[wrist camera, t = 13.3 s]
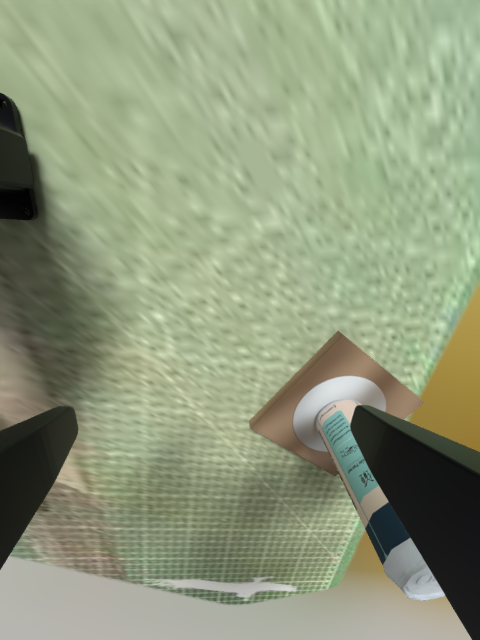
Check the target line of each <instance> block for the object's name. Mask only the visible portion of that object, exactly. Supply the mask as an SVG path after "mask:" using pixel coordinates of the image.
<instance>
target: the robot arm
mask: <svg viewBox="0 0 480 640" xmlns="http://www.w3.org/2000/svg"><path fill="white" fill-rule="evenodd" d="M3 101H5V102H6V104H7V108H6V109H3V108H2V102H3ZM33 185H34V181H33V176H32V171H31V166H30V161H29V156H28V151H27V146H26V141H25V138H24V137H23V136H22V133H21V128H20V123H19V118H18V113H17V108H16V105H15V103H14V102H13V100H12V99H10V98H9V97H8V96H6V95H4V94H2V93H0V218H2V219H17V220H34V219H36V218H37V216H38V211H37V206H36V202H35V197H34V192H33ZM26 208H27V209H28V210H29V212H30V214H29V215H27V214H26V213H25V209H26ZM350 429H351V432H352V435H353V437H354V439H355V441H356V443H357V445H358V447H359V449H360V451H361V453H362V455H363V457H364V460H365V462H366V464H367V466H368V468H369V470H370V471H371V473H372V475H373V477H374V478H375V480H376V482H377V483H378V485H379V487H380V488H381V490H382V492H383V493H384V495H385V497H386V498H387V500H388V502H389V503H390V505H391V506H392V508H393V510H394V511H395V513H396V515H397V516H398V518H399V520H400V521H401V523H402V525H403V526H404V528H405V530H406V531H407V533H408V535H409V536H410V538H411V539H412V541H413V543H414V544H415V546H416V548H417V549H418V551H419V553H420V554H421V556H422V558H423V559H424V561H425V563H426V564H427V566H428V568H429V569H430V571H431V573H432V574H433V576H434V577H435V579H436V581H437V582H438V584H439V586H440V587H441V589H442V591H443V592H444V594H445V596H446V597H447V599H448V601H449V602H450V604H451V605H452V607H453V609H454V610H455V612H456V614H457V615H458V617H459V619H460V620H461V622H462V624H463V625H464V627H465V629H466V630H467V632H468V634H469V635H470V637H471V639H472V640H480V452H478V451H476V450H474V449H471V448H468V447H466V446H464V445H462V444H459V443H457V442H455V441H452V440H450V439H448V438H445V437H443V436H440V435H438V434H436V433H433V432H431V431H429V430H426V429H424V428H421V427H419V426H417V425H415V424H412V423H410V422H407V421H405V420H403V419H400V418H398V417H396V416H393V415H391V414H389V413H386V412H384V411H381V410H379V409H377V408H374V407H372V406H370V405H357V406H356V407H355V410H354V413H353V416H352V420H351V423H350ZM77 434H78V424H77V419H76V414H75V410H74V408H73V407H71V406H59V407H56V408H53V409H51V410H49V411H46V412H44V413H42V414H39V415H37V416H34V417H32V418H30V419H27V420H25V421H23V422H20V423H18V424H16V425H13V426H11V427H9V428H6V429H4V430H2V431H0V570H1V568H2V566H3V564H4V563H5V561H6V560H7V558H8V557H9V555H10V553H11V552H12V550H13V548H14V547H15V545H16V544H17V542H18V540H19V539H20V537H21V536H22V534H23V532H24V531H25V529H26V527H27V526H28V524H29V523H30V521H31V519H32V518H33V516H34V515H35V513H36V511H37V510H38V508H39V506H40V505H41V503H42V502H43V500H44V498H45V497H46V495H47V494H48V492H49V490H50V489H51V487H52V485H53V484H54V482H55V480H56V478H57V476H58V474H59V472H60V470H61V468H62V466H63V464H64V462H65V460H66V458H67V456H68V454H69V451H70V449H71V447H72V445H73V443H74V441H75V439H76V437H77Z"/></svg>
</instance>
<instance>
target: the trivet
mask: <svg viewBox="0 0 480 640" xmlns="http://www.w3.org/2000/svg"><path fill="white" fill-rule="evenodd" d="M340 399H351V400H355V401H358V402H359V403H361V404H362V405H370V406H372V407H374V408H377V409H379V410H381V411H384V412H386V413H389V414H391V415H393V416H396V417H398V418H400V419H403V420H404V419H405V418H406V417H407V416H408V415H410V414H411V413H412V412H413V411H414V410H416V409H417V408H418V407H419V406H420V405H422V404H423V403H424V402H423V401H422V400H421V399H420V398H419V397H418V396H417V395H415V394H414V393H413V392H412V391H411V390H409V389H408V388H407V387H406V386H404V385H403V384H402V383H401V382H400V381H398V380H397V379H396V378H395V377H394V376H392V375H391V374H390V373H389V372H388V371H386V370H385V369H384V368H383V367H381V366H380V365H379V364H378V363H377V362H375V361H374V360H373V359H372V358H371V357H369V356H368V355H367V354H366V353H364V352H363V351H362V350H361V349H360V348H358V347H357V346H356V345H355V344H354V343H352V342H351V341H350V340H349V339H348V338H346V337H345V336H344V335H343V334H341V333H340V332H339V331H338V332H337V333H336V334H335V335H334V336H333V337H332V338H331V339H330V340H329V341H328V342H327V343H326V344H325V345H324V346H323V347H322V348H321V349H320V350H319V351H318V352H317V353H316V354H315V355H314V356H313V357H312V358H311V359H310V360H309V361H308V362H307V363H306V364H305V365H304V366H303V367H302V368H301V369H300V370H299V371H298V372H297V373H296V374H295V375H294V376H293V377H292V378H291V379H290V380H289V381H288V382H287V383H286V384H285V385H284V386H283V387H282V388H281V389H280V390H279V392H278V393H277V394H276V395H275V396H274V397H273V398H272V399H271V400H270V401H269V402H268V403H267V404H266V405H265V406H264V407H263V408H262V409H261V410H260V411H259V412H258V413H257V414H256V415H255V416H254V417H253V418H252V419H251V420H250V426H251V429H253V430H254V431H256V432H258V433H260V434H262V435H263V436H265V437H267V438H269V439H270V440H272V441H274V442H276V443H278V444H279V445H281V446H283V447H285V448H286V449H288V450H290V451H292V452H294V453H295V454H297V455H299V456H301V457H302V458H304V459H306V460H308V461H310V462H311V463H313V464H315V465H317V466H318V467H320V468H322V469H324V470H326V471H327V472H329V473H331V474H333V475H334V476H336V475H337V474H339V473H338V471H337V469H336V467H335V465H334V463H333V461H332V459H331V457H330V454H329V452H328V450H327V448H326V446H325V444H324V442H323V440H322V438H321V436H320V434H319V432H318V431H317V429H316V419H317V416H318V414H319V413H320V411H321V410H322V409H323V408H324V407H326V406H327V405H328V404H330V403H331V402H334V401H337V400H340Z"/></svg>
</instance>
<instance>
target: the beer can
mask: <svg viewBox="0 0 480 640" xmlns="http://www.w3.org/2000/svg"><path fill="white" fill-rule="evenodd" d="M357 405H362V404H361V403H359V402H358V401H355V400H351V399H340V400H337V401H334V402H331V403H330V404H328V405H327V406H326V407H324V408H323V409H322V410H321V411H320V413H319V414H318V416H317V419H316V429H317V431H318V432H319V434H320V436H321V438H322V440H323V442H324V444H325V446H326V448H327V450H328V452H329V454H330V457H331V459H332V461H333V463H334V465H335V467H336V469H337V471H338V473H339V475H340V477H341V479H342V482H343V484H344V486H345V488H346V490H347V492H348V494H349V496H350V498H351V500H352V502H353V504H354V507H355V509H356V511H357V513H358V515H359V517H360V519H361V521H362V523H363V525H364V527H365V529H366V531H367V534H368V536H369V538H370V540H371V542H372V544H373V546H374V548H375V550H376V552H377V554H378V557H379V558H380V561H381V563H382V565H383V568H384V572H385V573H386V575H387V576H388V577H389V578H390V579H391V580H392V581H393V582H394V583H395V584H396V585H397V586H398V587H399V588H400V589H401V590H402V591H403V592H404V593H405V594H406V595H407V596H408V598H409V599H416V600H423V601H426V600H431V599H435V598H439V597H443V596H445V594H444V592H443V591H442V589H441V587H440V586H439V584H438V582H437V581H436V579H435V577H434V576H433V574H432V573H431V571H430V569H429V568H428V566H427V564H426V563H425V561H424V559H423V558H422V556H421V554H420V553H419V551H418V549H417V548H416V546H415V544H414V543H413V541H412V539H411V538H410V536H409V535H408V533H407V531H406V530H405V528H404V526H403V525H402V523H401V521H400V520H399V518H398V516H397V515H396V513H395V511H394V510H393V508H392V506H391V505H390V503H389V502H388V500H387V498H386V497H385V495H384V493H383V492H382V490H381V488H380V487H379V485H378V483H377V482H376V480H375V478H374V477H373V475H372V473H371V471H370V470H369V468H368V466H367V464H366V462H365V460H364V457H363V455H362V453H361V451H360V449H359V447H358V445H357V443H356V441H355V439H354V437H353V435H352V432H351V429H350V423H351V420H352V416H353V413H354V410H355V407H356V406H357Z"/></svg>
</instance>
